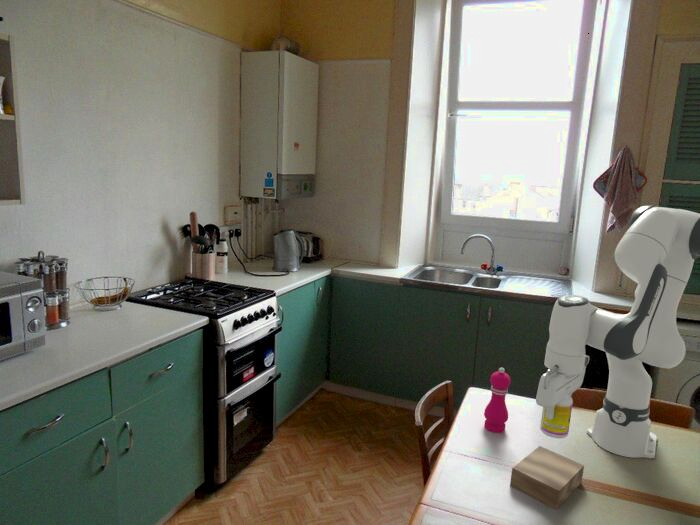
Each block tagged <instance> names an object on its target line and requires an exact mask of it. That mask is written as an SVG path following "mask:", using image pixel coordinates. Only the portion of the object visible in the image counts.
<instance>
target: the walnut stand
mask: <svg viewBox="0 0 700 525" xmlns="http://www.w3.org/2000/svg"><path fill="white" fill-rule="evenodd" d="M584 468H585V465H584V464H582V463H580V462H577V461H575V460H573V459H570V458H568V457H566V456H564V455H562V454H560V453H557V452H554V451H553V450H550V449H548V448H546V447H543V446H541V445H539V446H538V447H537V448H535V449H534V450H533V451H532V452H530V453H529V454H528V455H527V456H525V457H524V458H523V459H521V461H519V462H518V463H517V464H516V465H514V466H513V467H512V469H511V474H510V475H511V476H510V482H509V483H510V484H509V486H510V487H512V488H514V489H516V490H518V491H520V492H522V493H524V495H525V494H526V495H528V496H529V497H531V498H533V499H535V500H537V501H539V502H540V503H543V504H545V505H547V506H549V507H550V508H553V509H554V510H558V508H560V506H562V504H563V503H564V502H565V501H566V500H567V499H568V498H569V497H570V496H571V494H573V493H574V491H575V490H576V489H577V488H579V486H580V485H581V484H582V482H583V476H584Z"/></svg>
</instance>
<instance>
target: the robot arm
mask: <svg viewBox="0 0 700 525" xmlns="http://www.w3.org/2000/svg"><path fill="white" fill-rule="evenodd" d="M698 258H700V213H699V212H695V211H691V210H687V209H681V208H672V207H662V206H657V205H652V204H651V205H642V206H640V207H638V208H636V209H635V210H634V211H633V212H632V214H631V216H630V219H629V222H628V229H627V230H626V232H625V233H624V234H623V236H622V237H621V239H620V241H619V242H618V243H617V246H616V248H615V250H614V260H615V263H616V265H617V267H618V269H619V270H620V271H621V272H622V273H623V274H624V275H625V276H626V277H627V278H629V279H631V280H632V281H633V282H635V283H637V286H636V289H635V291H634V302H633V303H632V306H631V309H630V311H629V312H628V313H626V314H624V313H615V312H613V311H608V310H605V309H603V308H599V307H597V306H595V305H593V304H591V303H590V300H589V299H588V298H586V297H584V296H581V295H576V294H570V295H569V294H567V295H563V296H560V297H558V298H557V299H556V301H555V303H554V305H553V308H552V312H551V316H550V322H549V327H548V332H549V338H548V341H547V344H546V349H545V356H544V363H543V364H544V366H545V368H548V369H547V371H546V372H545V373H543V374H542V375H541V377H540V378H539V382H538V385H537V386H538V387H537V392H536V396H535V397H536V398H535V403H536V405H538V406H540V407H542V408H543V407H545V409H546V415H545V416H546V418H548V419H550V420H552V419H553V418H554V417H555V413H556V412H555V411H554V407H555V405H556V404H558V403H559V402H560V401H562V400H563V399H564V398H565V396H566V395H565V390H566V389H567V388H569V387H571V389H570V393H569V395H570V396H571V397H572V396H573V393H574V392H576V391H577V390H579V389H580V388H581V386H582V384H583V382H584V378H585V374H586V368H587V365H588V364H589V362H590V356H589V355H587V354H586V345H587V346H590V347H592V348H595V349H597V350H600V351H603V352H605V354H606V358H607V364H608V370H609V372H608V373H609V374H608V381H607V382H608V383H607V390H606V394H605V396H604V398H603V401H602V402H603V404H602V408H600V409H597V410H596V414H595V418H594V422H593V426H591V427H589V428H588V429H587V430H586V434H587V435H588V436H590V437H591V438H592V439H593V441H594V442H595V443H596V445H597V446H599V447H600V448H602V449H603V450H606V451H607V452H609V453H613V454H615V455H618V456H622V457H628V458H634V459H635V458H636V459H637V458H645V459H652V458H653V459H655V458H656V448H657V442H656V441H658V439H657V435H656V433H653V432H652V430H651V429H652V428H651V427H652V426H651V425H652V420H651V419H650V411H651V410H650V407H651V406H650V405H651V401H650V400H651V393H652V387H653V381H652V380H653V379H652V378H651V376H650V375H649V374H648V372H647V371H646V369H645V366H644V365H643V363H645V364H647V365H649V366H654V367H657V368H662V369H673V368H675V367H677V366H678V365H679V364H680V363H681V362H682V361H683V359H684V358H685V357H686V351H687V350H686V349H687V347H686V343H685V341H684V339H683V338H682V336H681V334H680V332H679V330H678V326H677V325H678V324H677V312H678V311H677V310H678V306H679V304H680V301H681V299H682V296H683V294H684V292H685V289H686V287H687V285H688V281H689V279H690V276H691V274H692V270H693V266H694V264H695V263H694V262H695V260H697V259H698Z"/></svg>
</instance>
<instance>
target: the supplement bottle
mask: <svg viewBox="0 0 700 525" xmlns="http://www.w3.org/2000/svg"><path fill="white" fill-rule="evenodd" d="M570 389H571V387H569V388H567V389H566V390H565V395H566V396H565V398H564V399H563V400H562V401H560V402H559V403H558V404H556V405H555V407H554V411H555V412H556V413H555V417H554V418H553V419H552V420H550V419H548V418H546V416H545V415H546V409H545V407H542V413H541V420H540V426H539V428H540V431H541V432H542V434H544V435H545V436H546V437H551V438H553V439H564V438H567V437H568V435H569V432H570V426H571V424H570V423H571V417H572V410H573V404H574V403H573V402H574V401H573V398H572V396H570V395H569V393H570Z"/></svg>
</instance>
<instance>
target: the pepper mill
mask: <svg viewBox="0 0 700 525" xmlns="http://www.w3.org/2000/svg"><path fill="white" fill-rule="evenodd" d="M511 381H512V380H511V377H510V376H509V374H508V373H506V372H505V368H504V367H499V368H498V371H495V372H493V373H492V374H491V376H490V379H489V382H490V384H491V386H490V391H491V399H490V400H489V402H488V404H486V406H485V409H484V412H483V416H484V418H485V420H484V425H483V426H484V428H485V429H486V430H487V431H489V432H491V433H496V434H501V433H503V432H505V431H506V422H507V421H508V420H509V411H508V408H507V405H506V395H508V391H509V387H510V385H511Z"/></svg>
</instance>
